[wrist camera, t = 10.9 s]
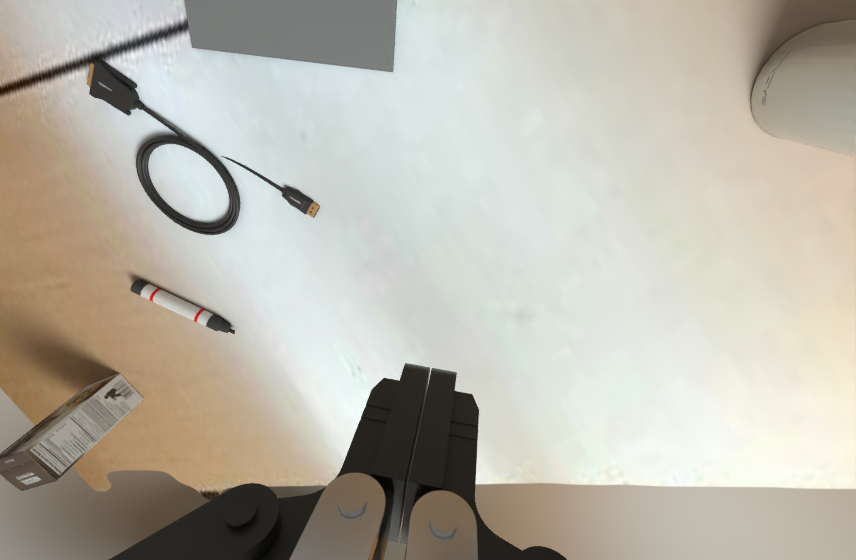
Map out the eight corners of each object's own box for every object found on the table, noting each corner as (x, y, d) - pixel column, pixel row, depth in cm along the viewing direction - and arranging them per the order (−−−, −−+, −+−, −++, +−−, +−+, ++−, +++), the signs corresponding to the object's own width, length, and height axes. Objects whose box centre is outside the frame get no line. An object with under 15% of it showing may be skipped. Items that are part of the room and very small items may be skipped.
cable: (280, 281, 54) (274, 287, 53) (83, 159, 50) (72, 161, 49) (322, 204, 48) (317, 208, 47) (101, 55, 44) (89, 55, 42)
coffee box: (113, 410, 72) (20, 492, 58) (86, 384, 70) (-16, 463, 56) (146, 398, 70) (57, 482, 55) (119, 371, 67) (20, 452, 53)
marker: (140, 287, 58) (129, 294, 56) (142, 277, 57) (130, 283, 55) (238, 333, 59) (230, 341, 58) (240, 323, 58) (233, 331, 57)
